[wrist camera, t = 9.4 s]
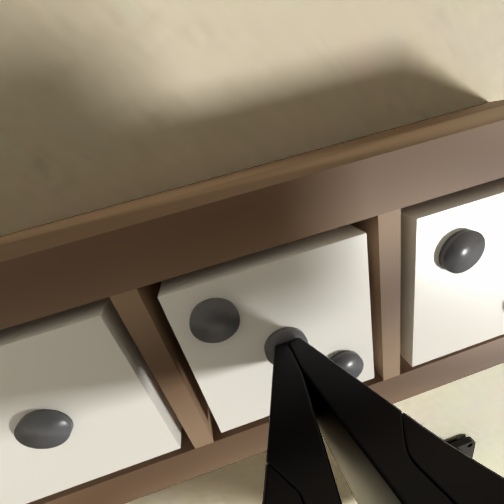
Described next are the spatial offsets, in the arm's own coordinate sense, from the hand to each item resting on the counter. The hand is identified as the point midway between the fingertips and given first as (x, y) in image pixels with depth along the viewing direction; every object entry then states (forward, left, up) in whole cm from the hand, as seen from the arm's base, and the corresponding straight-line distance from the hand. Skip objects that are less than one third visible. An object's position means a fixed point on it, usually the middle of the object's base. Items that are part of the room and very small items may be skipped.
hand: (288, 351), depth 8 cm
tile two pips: (0, -7, -3) cm, 8 cm away
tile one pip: (0, +8, -3) cm, 8 cm away
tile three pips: (0, 0, -3) cm, 3 cm away
